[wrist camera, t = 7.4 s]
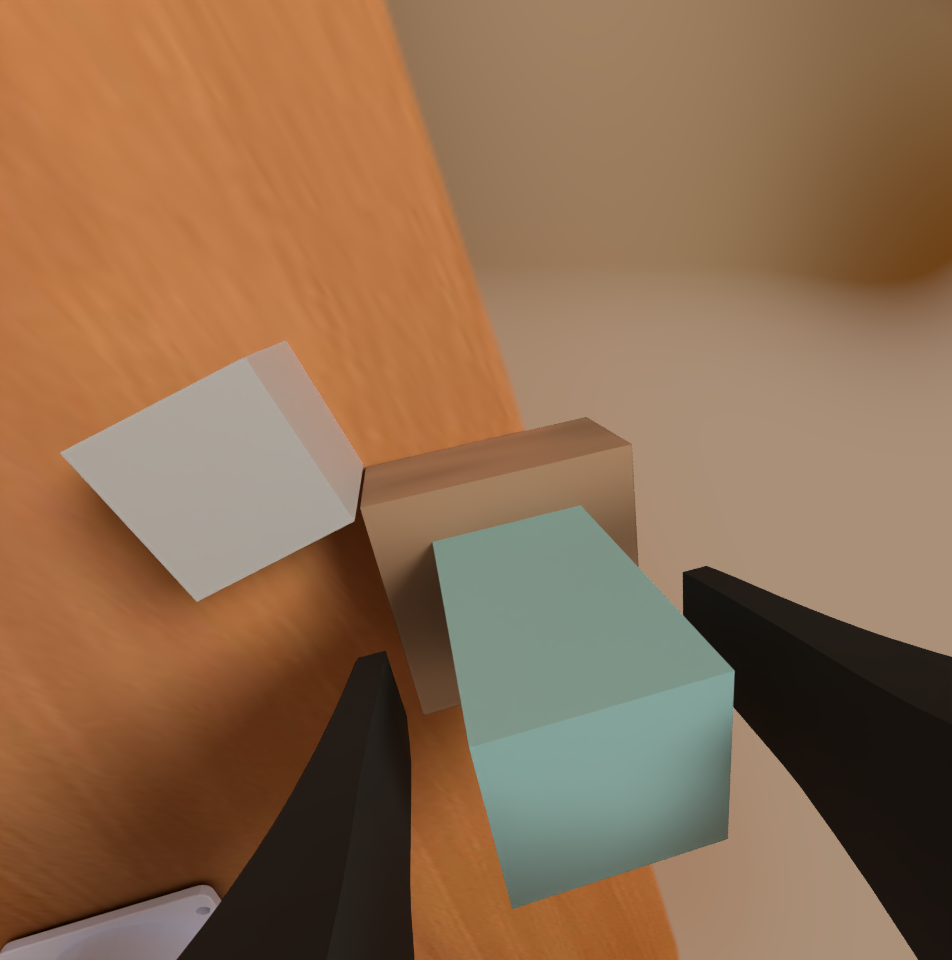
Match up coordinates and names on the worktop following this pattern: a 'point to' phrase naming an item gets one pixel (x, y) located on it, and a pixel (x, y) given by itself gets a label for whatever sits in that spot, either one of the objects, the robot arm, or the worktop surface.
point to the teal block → (583, 704)
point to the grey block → (227, 471)
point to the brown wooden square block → (483, 520)
